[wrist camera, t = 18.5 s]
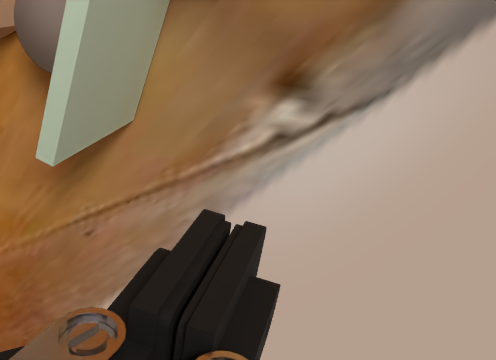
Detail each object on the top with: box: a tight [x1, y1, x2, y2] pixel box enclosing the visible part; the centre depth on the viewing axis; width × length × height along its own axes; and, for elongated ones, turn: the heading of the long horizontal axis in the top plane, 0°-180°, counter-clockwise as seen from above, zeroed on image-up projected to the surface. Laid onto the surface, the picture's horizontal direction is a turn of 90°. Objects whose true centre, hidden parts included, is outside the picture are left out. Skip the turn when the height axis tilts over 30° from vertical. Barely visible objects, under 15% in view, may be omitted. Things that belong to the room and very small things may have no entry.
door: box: [35, 0, 170, 166], centre depth 28 cm, size 15×1×10 cm, turn 157°
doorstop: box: [14, 0, 66, 73], centre depth 31 cm, size 6×6×6 cm
